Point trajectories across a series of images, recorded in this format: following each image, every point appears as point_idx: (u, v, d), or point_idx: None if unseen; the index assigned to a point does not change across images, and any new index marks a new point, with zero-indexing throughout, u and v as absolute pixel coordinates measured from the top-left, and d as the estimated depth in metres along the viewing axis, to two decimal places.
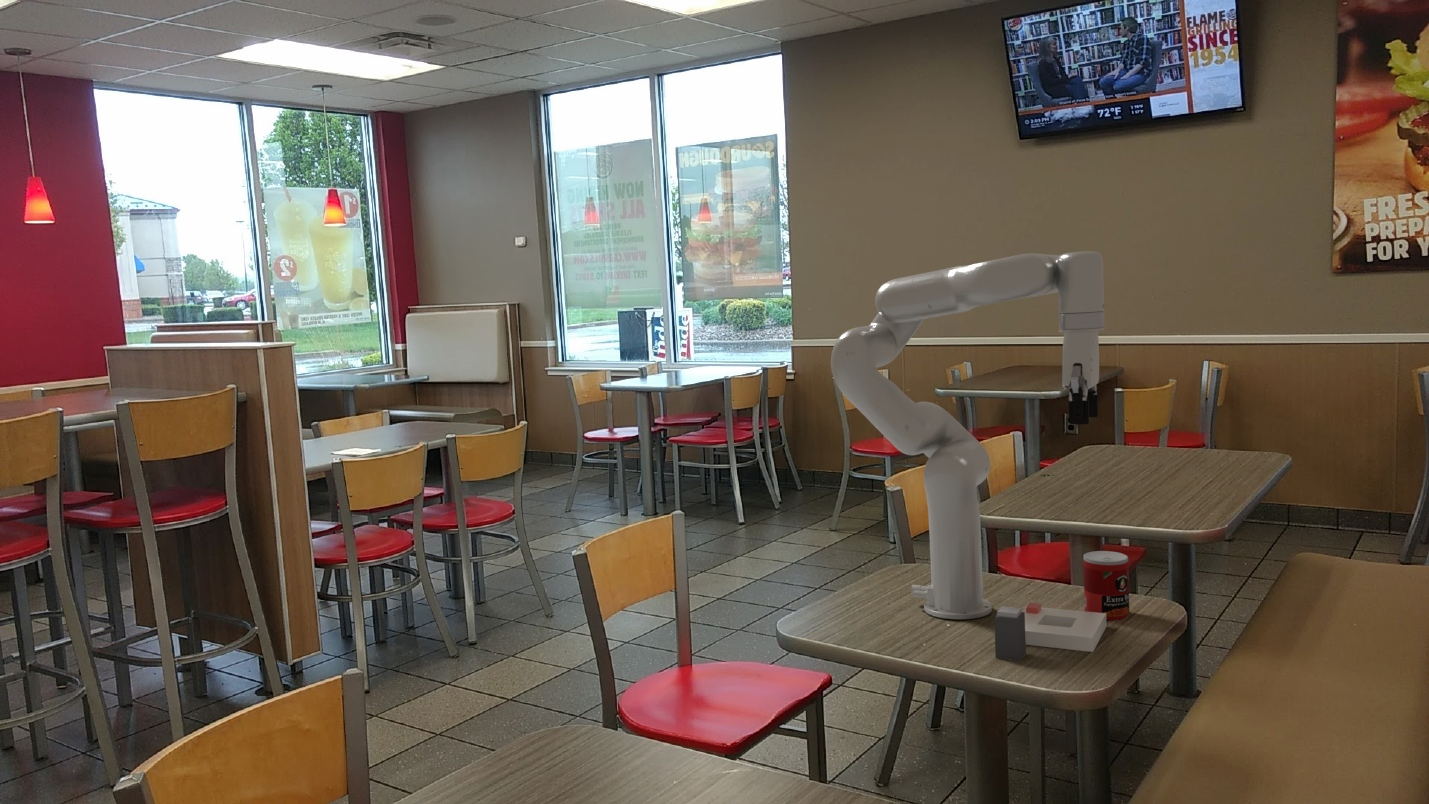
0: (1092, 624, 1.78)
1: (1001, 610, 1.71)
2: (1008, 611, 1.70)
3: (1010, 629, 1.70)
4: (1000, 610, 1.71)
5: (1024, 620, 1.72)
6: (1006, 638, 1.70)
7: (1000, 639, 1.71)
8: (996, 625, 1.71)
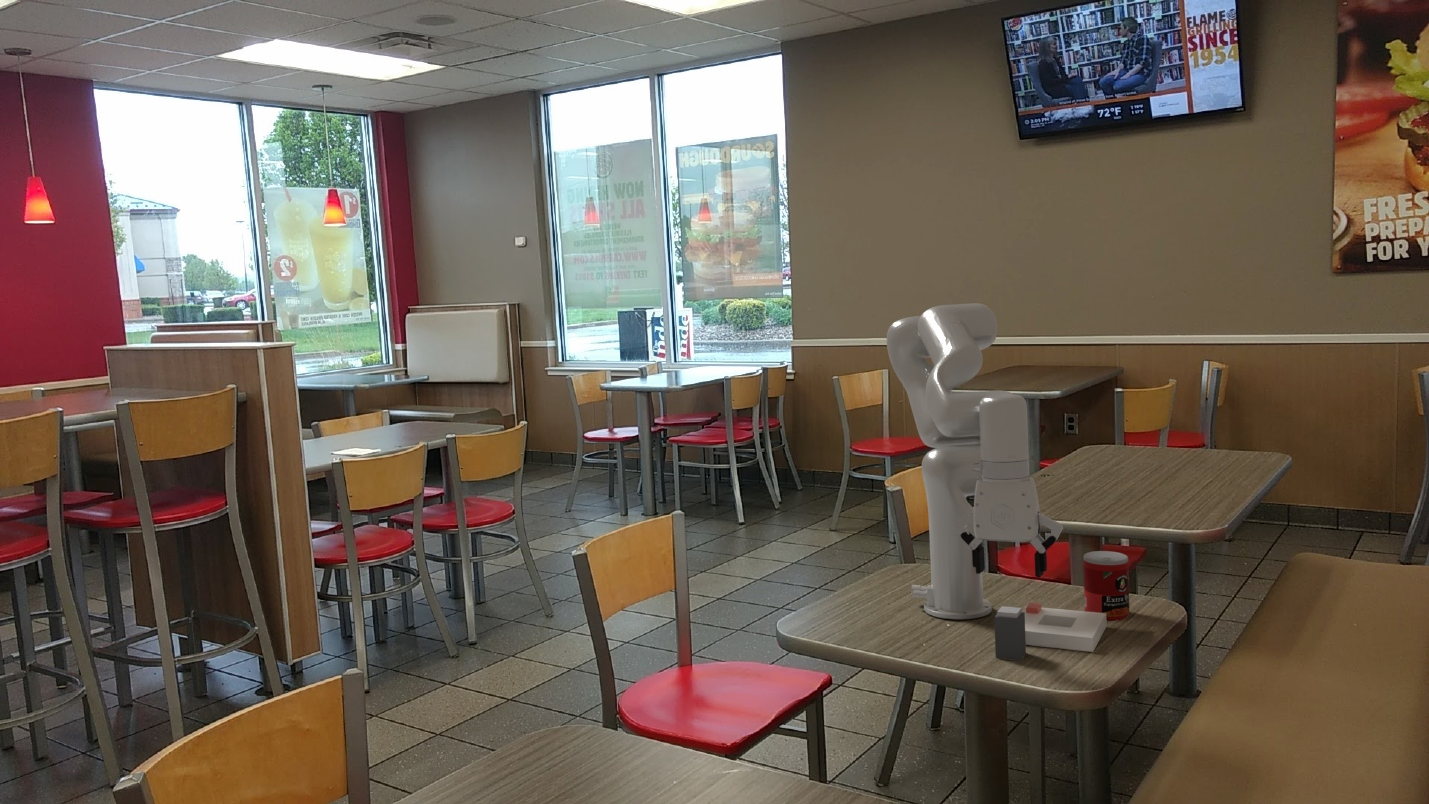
0: (1092, 624, 1.78)
1: (1001, 610, 1.71)
2: (1008, 611, 1.70)
3: (1010, 629, 1.70)
4: (1000, 610, 1.71)
5: (1024, 620, 1.72)
6: (1006, 638, 1.70)
7: (1000, 639, 1.71)
8: (996, 625, 1.71)
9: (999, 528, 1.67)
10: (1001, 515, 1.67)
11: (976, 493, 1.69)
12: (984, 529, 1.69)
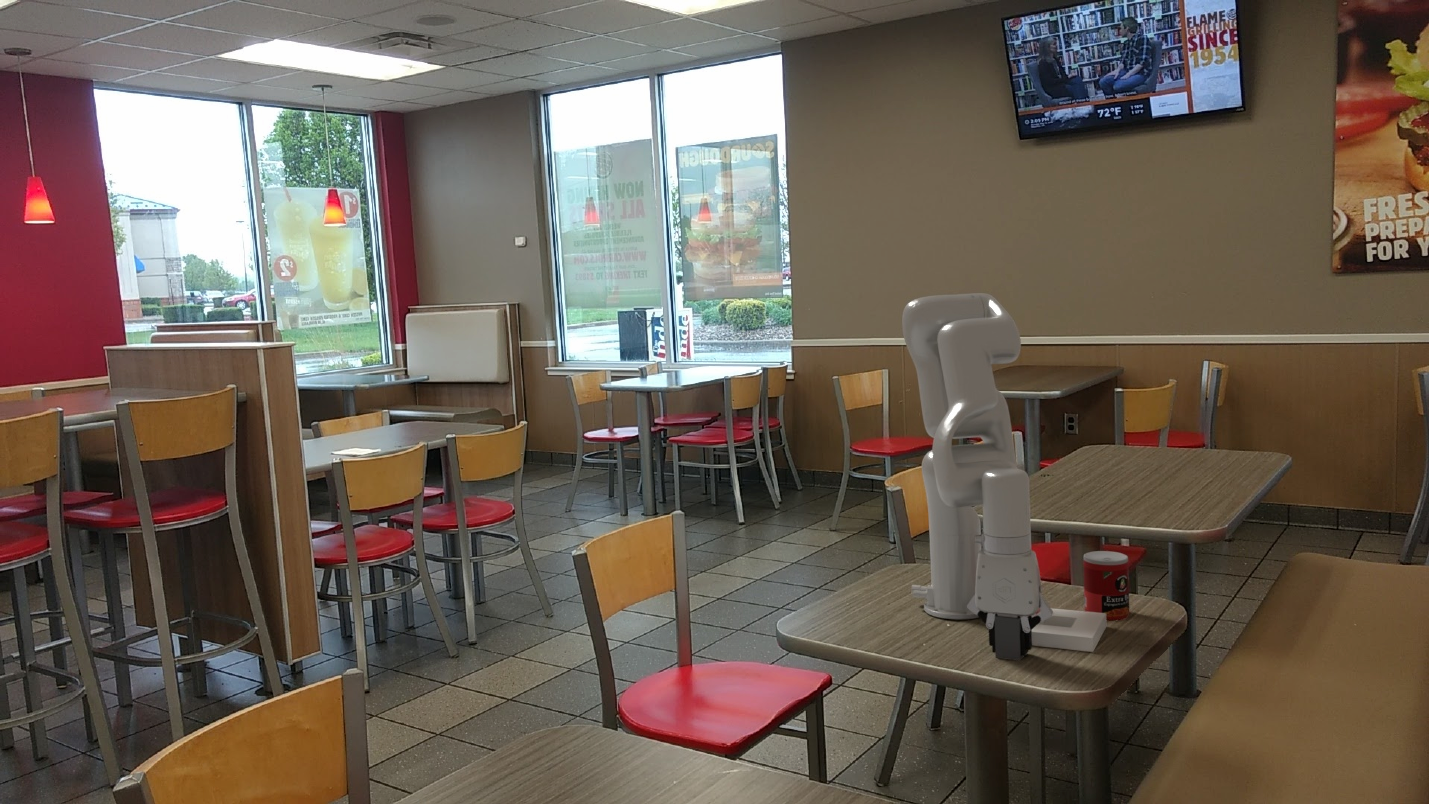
0: (1092, 624, 1.78)
1: None
2: None
3: (1010, 629, 1.70)
4: None
5: None
6: (1006, 637, 1.70)
7: (1000, 638, 1.71)
8: (996, 625, 1.71)
9: (1001, 601, 1.69)
10: (1003, 589, 1.69)
11: (978, 566, 1.71)
12: (986, 602, 1.70)
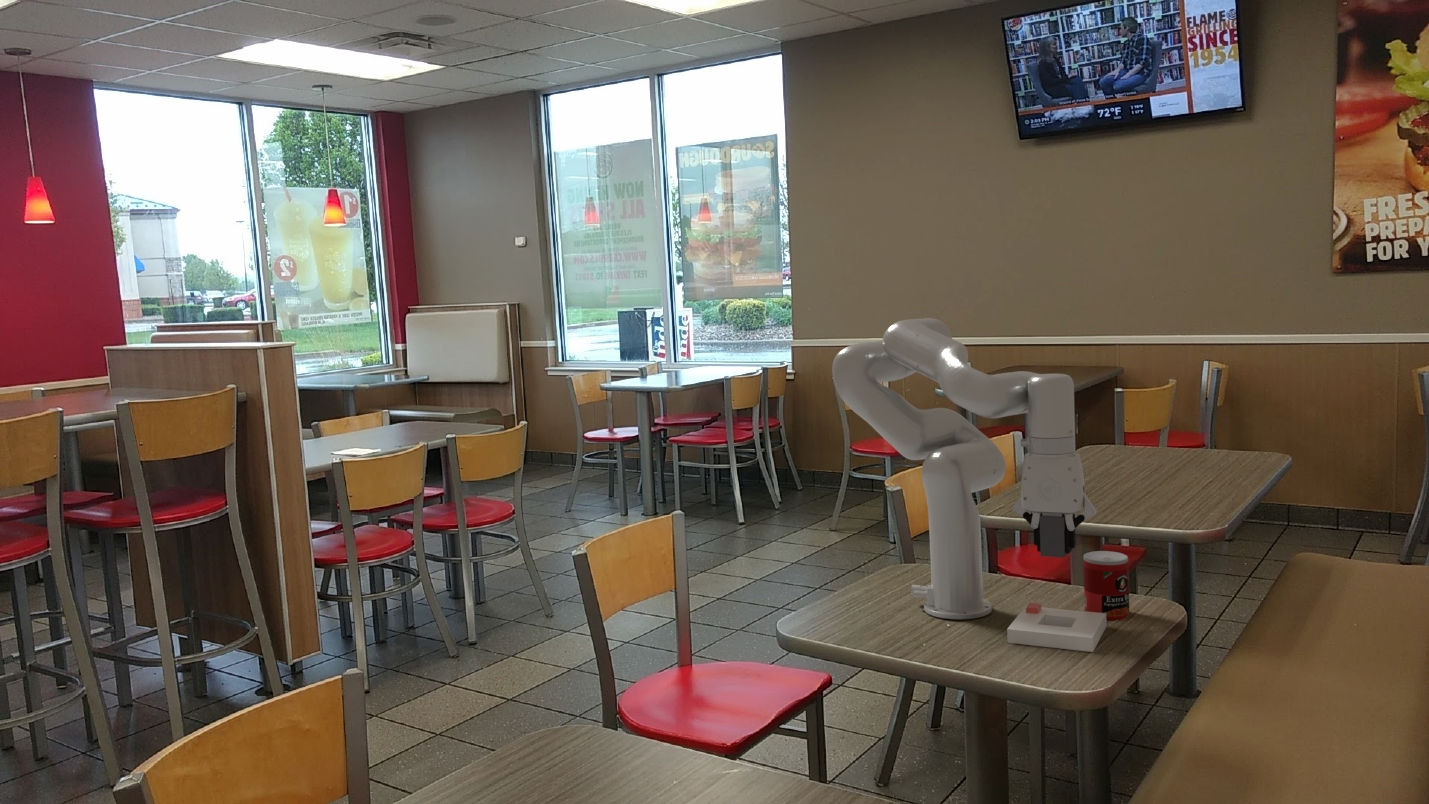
0: (1092, 624, 1.78)
1: None
2: None
3: (1054, 527, 1.77)
4: None
5: None
6: (1051, 536, 1.77)
7: (1045, 537, 1.78)
8: (1041, 524, 1.78)
9: (1046, 500, 1.76)
10: (1048, 489, 1.76)
11: (1024, 467, 1.78)
12: (1031, 502, 1.78)
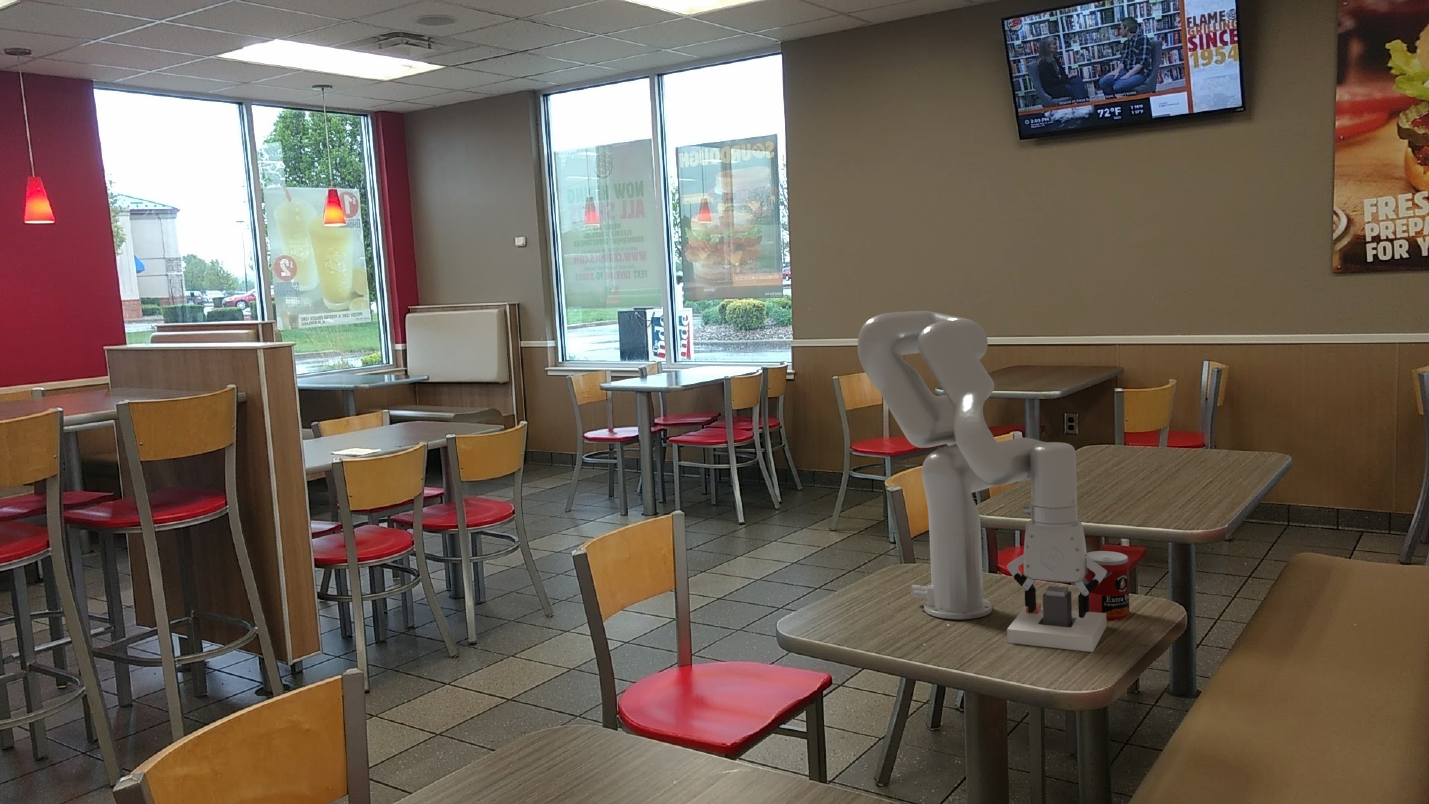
0: (1092, 624, 1.78)
1: (1049, 589, 1.80)
2: (1055, 590, 1.79)
3: (1058, 607, 1.78)
4: (1048, 589, 1.80)
5: None
6: (1054, 616, 1.79)
7: (1048, 617, 1.79)
8: (1044, 603, 1.79)
9: (1049, 569, 1.77)
10: (1051, 557, 1.77)
11: (1026, 535, 1.79)
12: (1034, 569, 1.79)
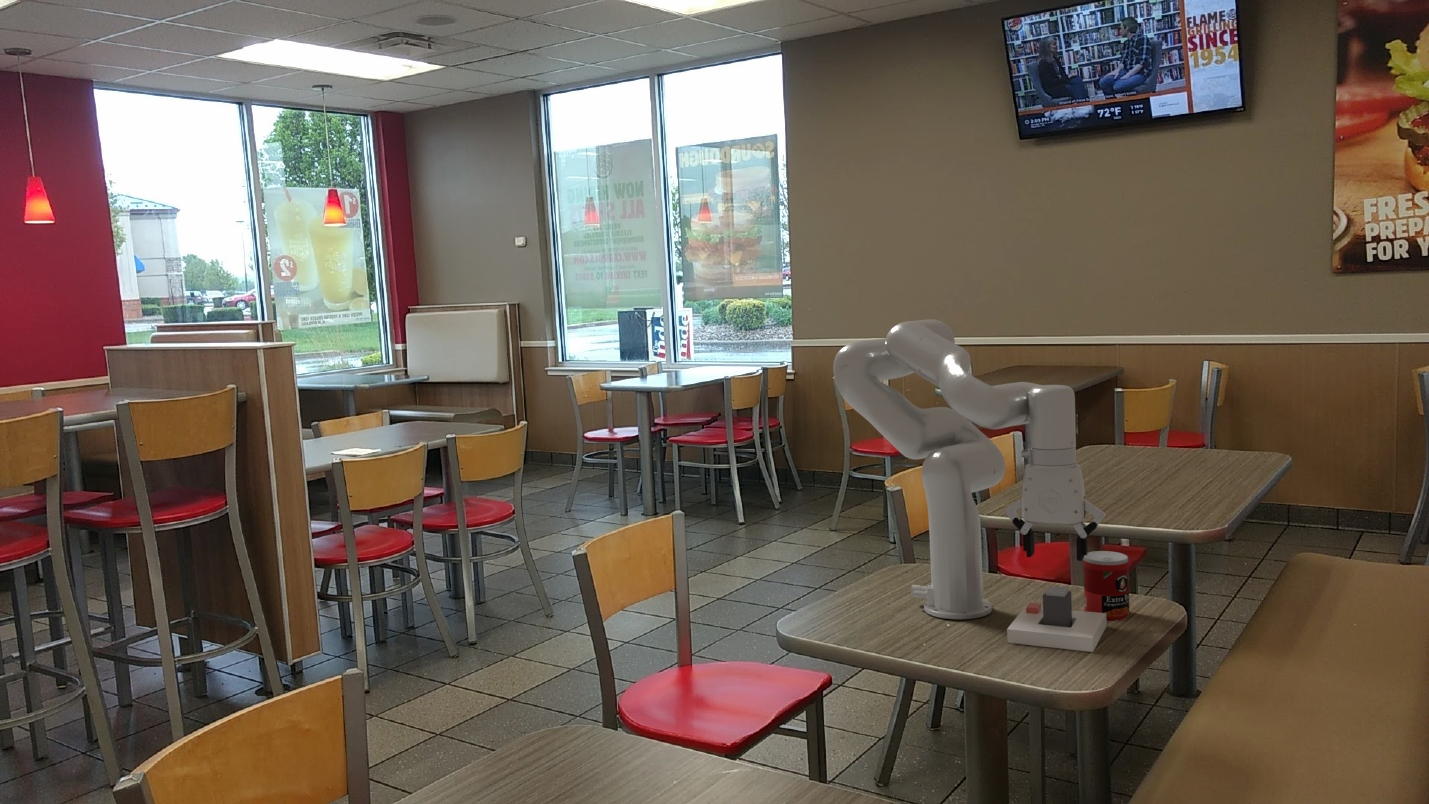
0: (1092, 624, 1.78)
1: (1049, 589, 1.80)
2: (1055, 590, 1.79)
3: (1058, 607, 1.78)
4: (1048, 589, 1.80)
5: None
6: (1054, 616, 1.79)
7: (1048, 617, 1.79)
8: (1044, 603, 1.79)
9: (1047, 511, 1.77)
10: (1049, 500, 1.76)
11: (1025, 478, 1.78)
12: (1032, 512, 1.78)
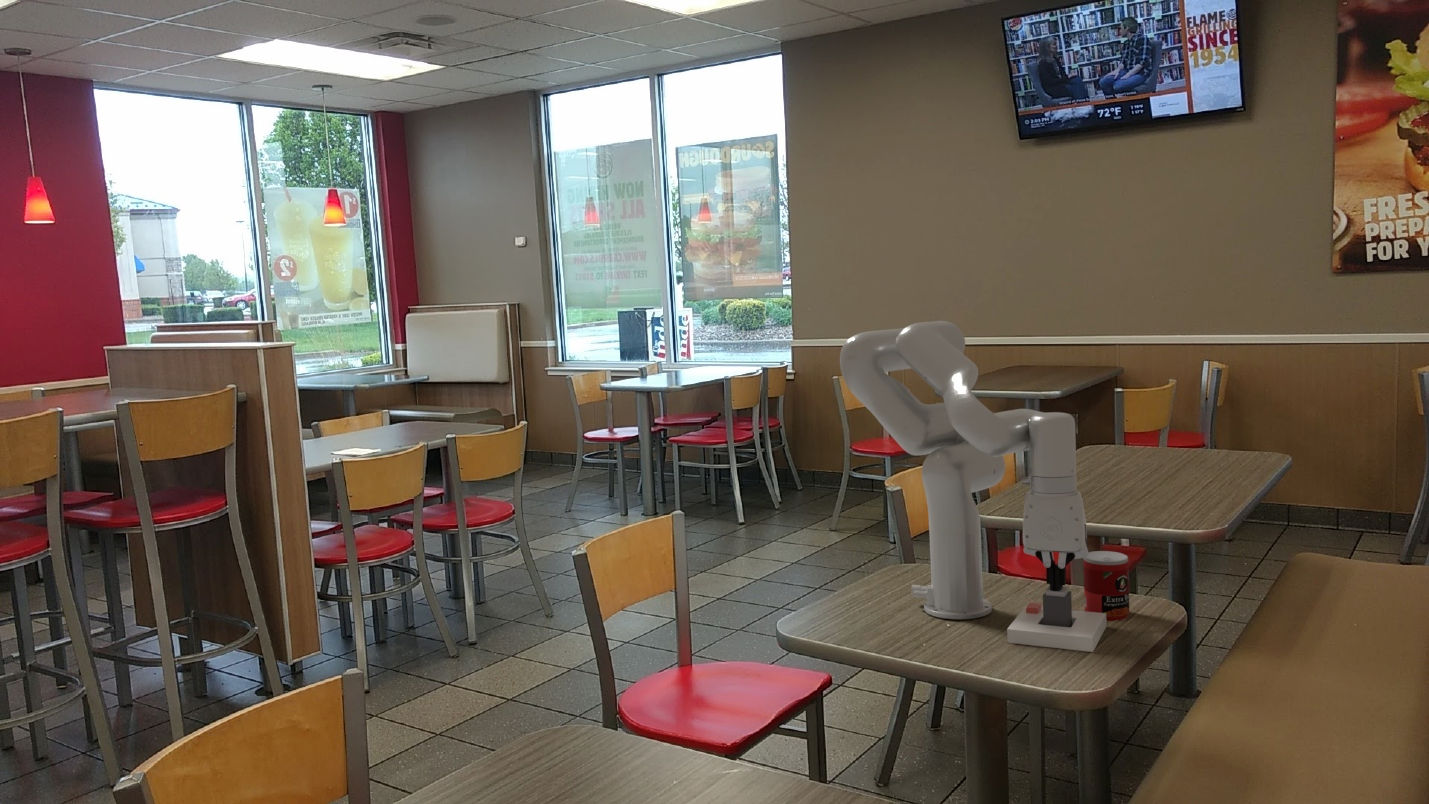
0: (1092, 624, 1.78)
1: (1049, 589, 1.80)
2: (1055, 590, 1.79)
3: (1058, 607, 1.78)
4: (1048, 589, 1.80)
5: None
6: (1054, 616, 1.79)
7: (1048, 617, 1.79)
8: (1044, 603, 1.79)
9: (1048, 539, 1.77)
10: (1050, 527, 1.77)
11: (1026, 506, 1.79)
12: (1033, 540, 1.78)
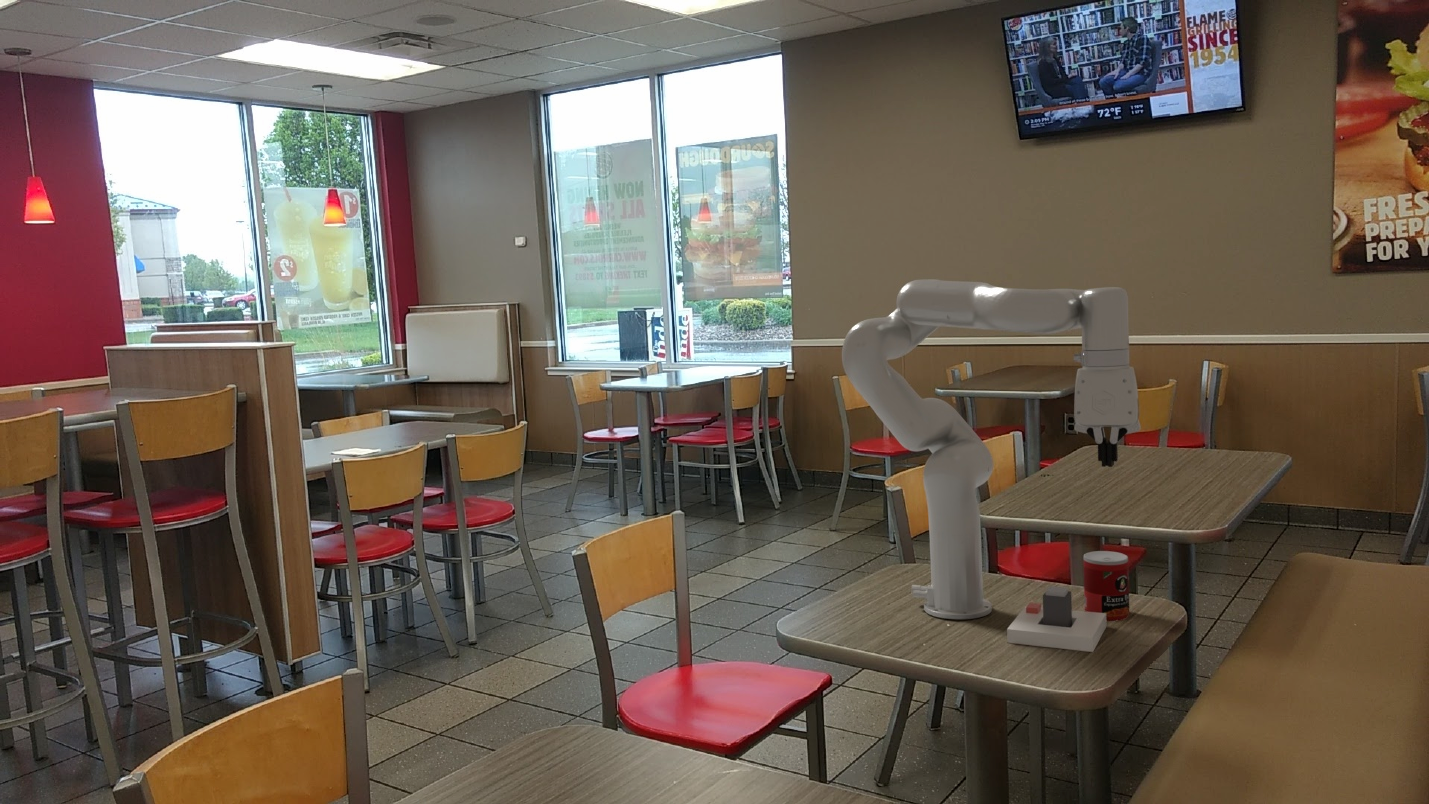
0: (1092, 624, 1.78)
1: (1049, 589, 1.80)
2: (1055, 590, 1.79)
3: (1058, 607, 1.78)
4: (1048, 589, 1.80)
5: None
6: (1054, 616, 1.79)
7: (1048, 617, 1.79)
8: (1044, 603, 1.79)
9: (1100, 413, 1.76)
10: (1102, 401, 1.76)
11: (1077, 381, 1.78)
12: (1085, 415, 1.78)
